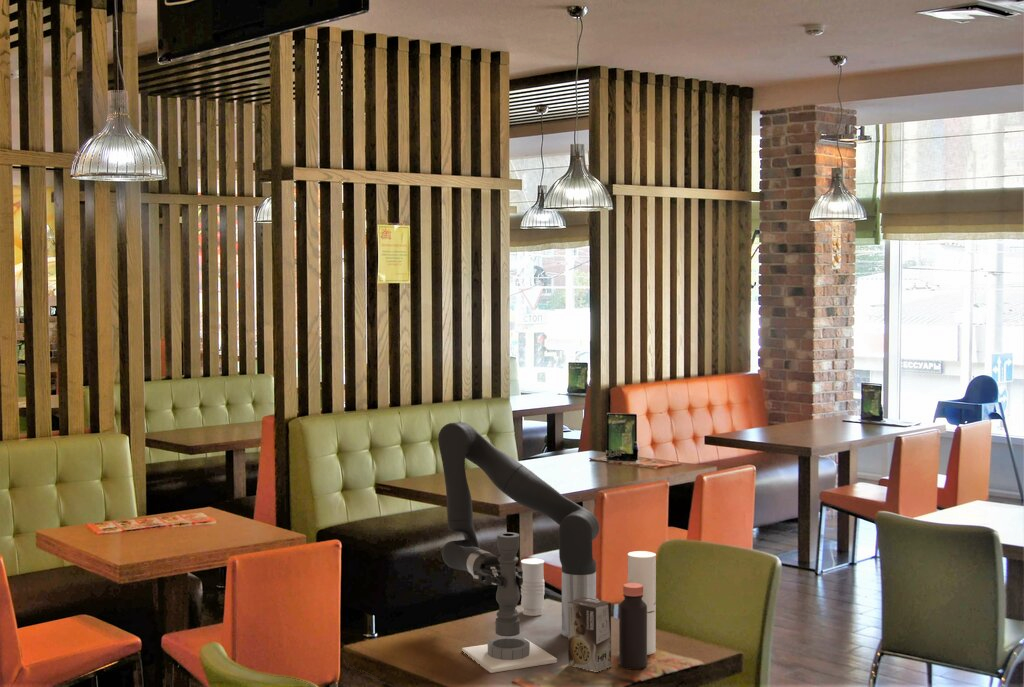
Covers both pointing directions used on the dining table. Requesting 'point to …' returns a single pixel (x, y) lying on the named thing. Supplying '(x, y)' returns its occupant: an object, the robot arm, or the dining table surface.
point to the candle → (532, 587)
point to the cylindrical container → (645, 589)
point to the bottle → (633, 628)
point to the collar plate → (508, 664)
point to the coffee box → (589, 634)
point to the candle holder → (508, 586)
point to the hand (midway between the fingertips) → (512, 582)
